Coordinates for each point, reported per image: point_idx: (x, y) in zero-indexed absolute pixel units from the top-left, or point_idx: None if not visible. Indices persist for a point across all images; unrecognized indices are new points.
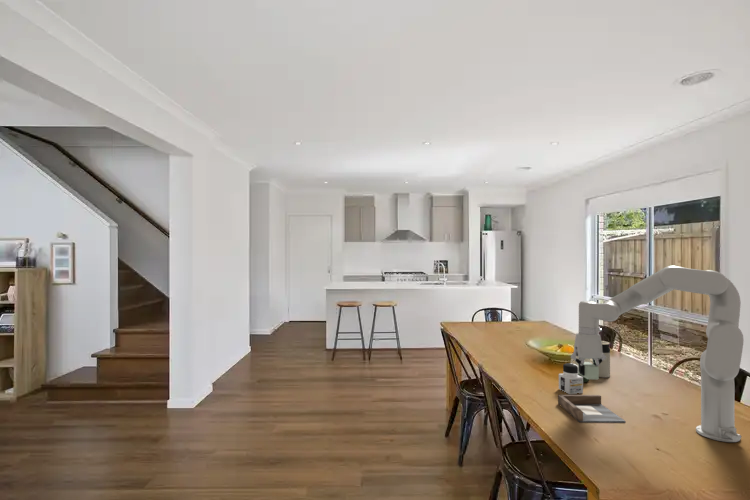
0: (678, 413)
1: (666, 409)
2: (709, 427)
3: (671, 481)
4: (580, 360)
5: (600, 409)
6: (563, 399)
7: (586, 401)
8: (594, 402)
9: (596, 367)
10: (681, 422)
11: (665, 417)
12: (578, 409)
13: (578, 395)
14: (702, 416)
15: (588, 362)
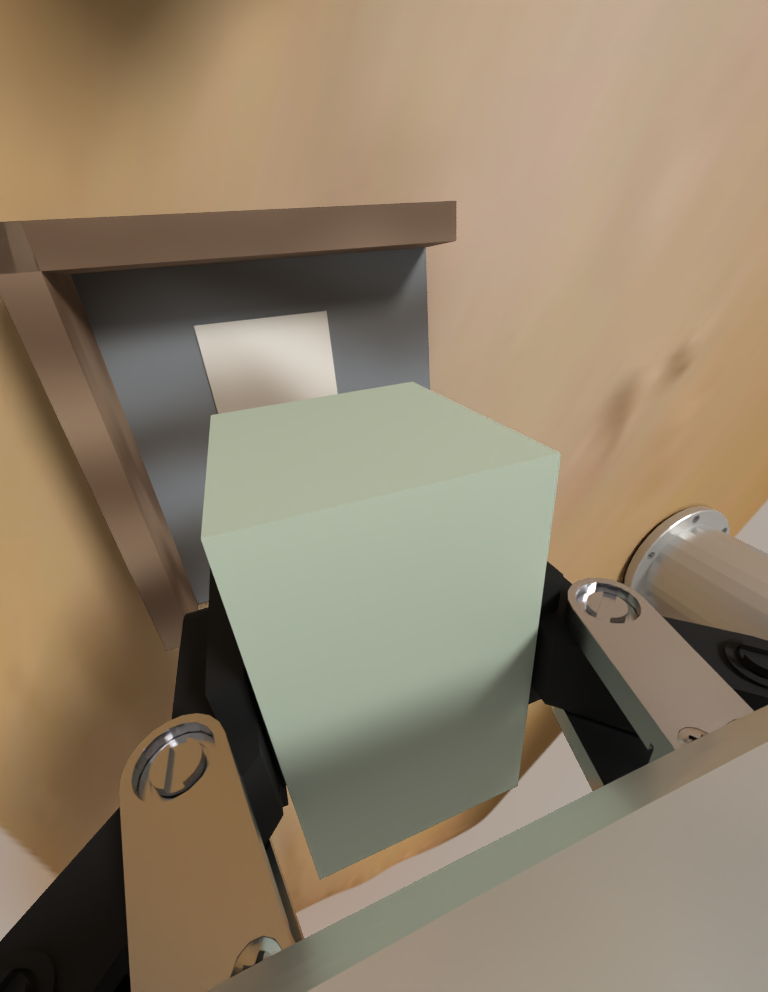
0: (735, 349)
1: (734, 290)
2: (665, 607)
3: (355, 863)
4: (218, 872)
5: (372, 381)
6: (46, 392)
7: (310, 255)
8: (378, 249)
9: (480, 793)
10: (658, 467)
11: (644, 419)
12: (169, 608)
13: (239, 234)
14: (699, 603)
15: (512, 520)
